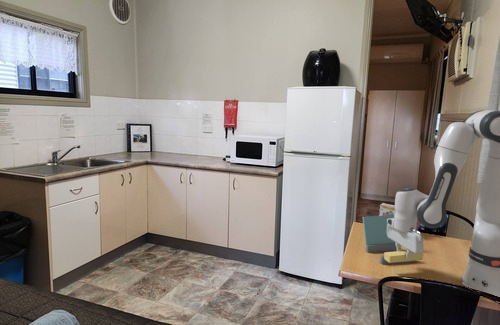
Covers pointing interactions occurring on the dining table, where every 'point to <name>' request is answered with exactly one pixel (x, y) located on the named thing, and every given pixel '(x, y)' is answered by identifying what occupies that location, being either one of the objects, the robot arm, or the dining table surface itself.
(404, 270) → the dining table surface
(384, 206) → the candy bar box
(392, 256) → the pale yellow strip
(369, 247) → the pair of grey bars
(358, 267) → the dining table surface
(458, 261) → the dining table surface
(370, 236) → the panel
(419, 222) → the light bulb
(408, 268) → the dining table surface
